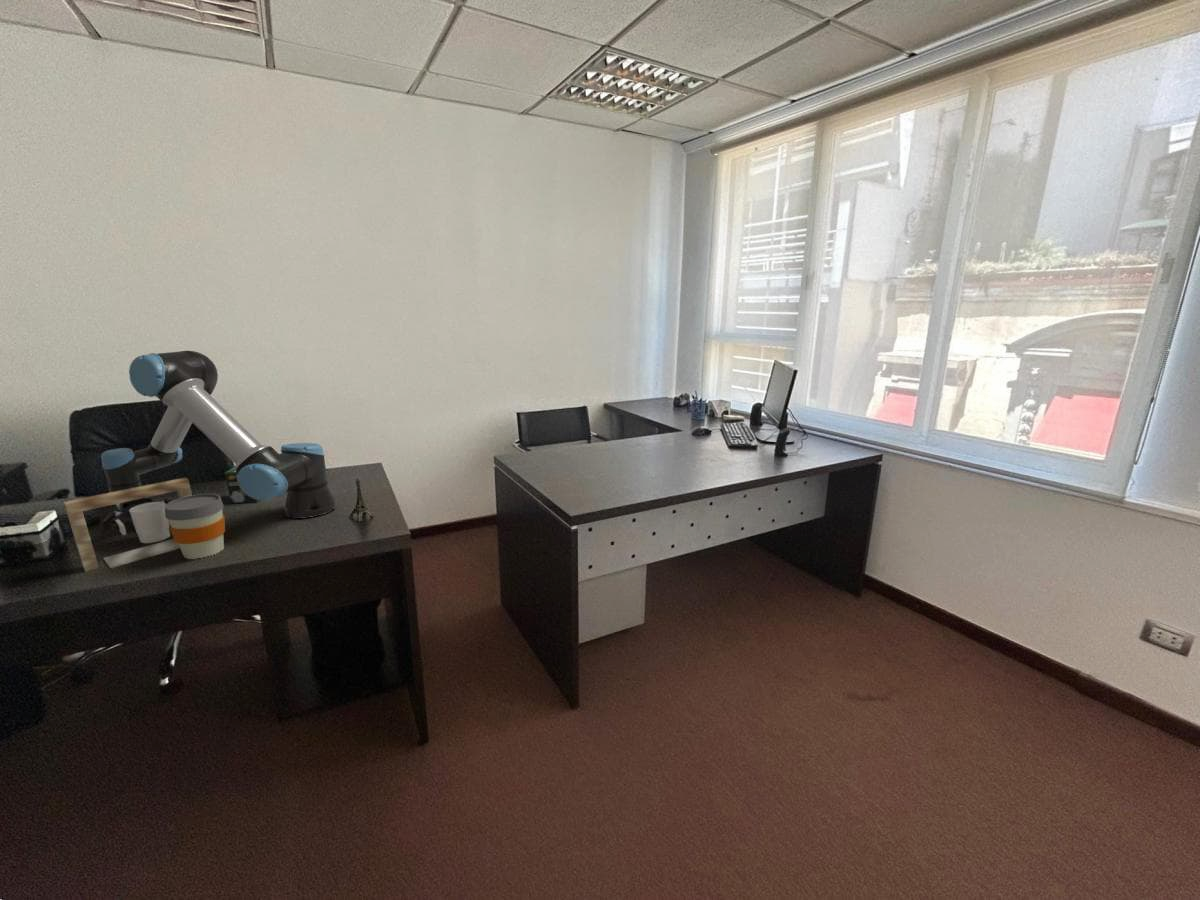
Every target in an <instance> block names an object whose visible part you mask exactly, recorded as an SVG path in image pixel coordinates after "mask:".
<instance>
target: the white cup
mask: <svg viewBox="0 0 1200 900" xmlns="http://www.w3.org/2000/svg"><path fill="white" fill-rule="evenodd" d="M129 512H130V515H131V518H132V520H131V521H132V524H133V527H134V529H135V531H136V534H137V536H138V540H139V542H140V543H142V544H153V543H154V544H155V543H159V542H163V541H165V540H166V539H168V538H169V537H170V536H171V534H170V532H171V531H170V528H169V525H170V523H169V520H168V519H167V518H166V517H165V503H164V502H162V501H153V502H151V503H145V504H141V505H137V506H135V507H132V508H131V509H130V510H129Z"/></svg>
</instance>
